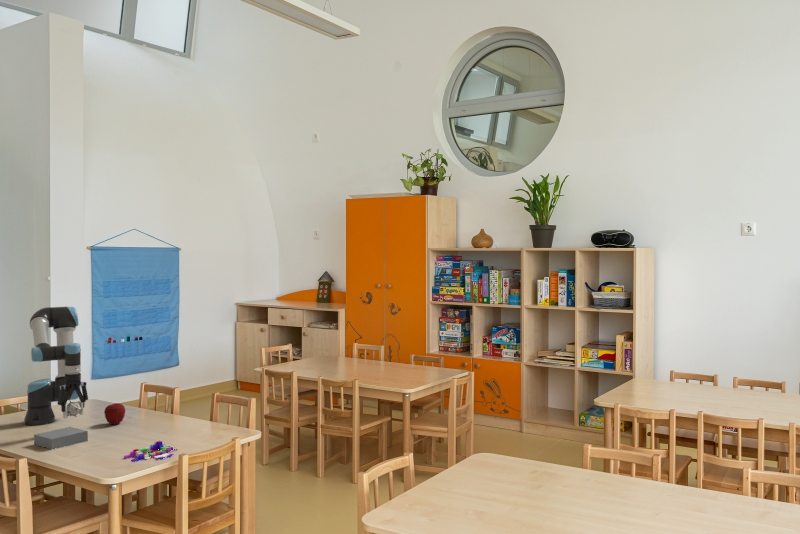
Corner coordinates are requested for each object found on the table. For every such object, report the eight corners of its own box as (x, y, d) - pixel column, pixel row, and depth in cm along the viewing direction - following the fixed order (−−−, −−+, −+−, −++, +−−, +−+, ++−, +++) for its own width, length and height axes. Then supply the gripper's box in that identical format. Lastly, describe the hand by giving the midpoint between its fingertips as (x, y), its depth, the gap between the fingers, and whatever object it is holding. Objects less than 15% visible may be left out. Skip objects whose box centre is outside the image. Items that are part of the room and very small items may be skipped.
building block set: (143, 465, 286) (143, 455, 286) (118, 457, 298) (117, 448, 298) (192, 452, 306) (191, 442, 306) (166, 445, 319) (166, 436, 319)
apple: (109, 421, 365) (109, 400, 365) (128, 421, 365) (128, 400, 365) (100, 426, 354) (100, 405, 354) (120, 426, 354) (120, 404, 354)
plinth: (34, 444, 319) (33, 434, 319) (69, 436, 334) (69, 426, 334) (51, 449, 310) (51, 439, 310) (87, 440, 325) (87, 430, 325)
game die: (77, 422, 345) (89, 406, 347) (68, 421, 337) (80, 404, 339) (65, 413, 347) (77, 397, 350) (55, 411, 339) (68, 395, 341)
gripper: (57, 376, 332) (57, 421, 332) (95, 370, 349) (95, 412, 350) (49, 375, 336) (49, 419, 337) (87, 369, 353) (87, 411, 354)
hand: (73, 415), depth 343 cm, fingers closed on game die, 8 cm apart
